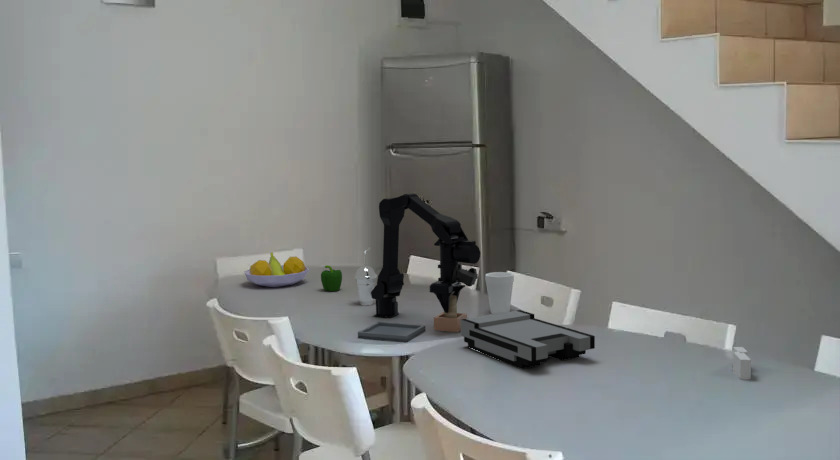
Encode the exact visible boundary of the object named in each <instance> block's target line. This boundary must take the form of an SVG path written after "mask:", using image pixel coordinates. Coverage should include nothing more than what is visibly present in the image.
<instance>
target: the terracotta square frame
mask: <svg viewBox="0 0 840 460" xmlns="http://www.w3.org/2000/svg"><path fill="white" fill-rule="evenodd" d="M467 318H468V313H466V312H465V313H464V312H462V313H461V312H457V318H446V317H444V311H442V312H440V313H439V314H437V315H436V316H435V315H434V316H433V330H434V331H440V332H443V331H444V332H453V333H459V332H461V319H467Z"/></svg>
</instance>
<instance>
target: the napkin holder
mask: <svg viewBox="0 0 840 460" xmlns="http://www.w3.org/2000/svg"><path fill="white" fill-rule="evenodd" d="M751 370H752V359H751V358H750V357H749V352H748V350H746V349H745V348H744V346H733V347H732V372H733V373H734V374H735V375H736V377H737V378H738V379H739V380H746V381H747V380H751V377H752V376H751V375H752V374H751V373H752V372H751Z"/></svg>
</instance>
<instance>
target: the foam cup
mask: <svg viewBox="0 0 840 460" xmlns="http://www.w3.org/2000/svg"><path fill="white" fill-rule="evenodd" d="M484 276H485V277H484V278H485V279H484V281H485V283H486V289H487V291H486V292H487V298H488V305H489V306H488V307H489V312H490V315H492V314H498V313H504V312H510V311H511V303H512V296H513V285H514V282H515V280H514V279H515V278H514V277H515V273H513V272H508V271H507V272H506V271H504V272H503V271H498V272H497V271H495V272H494V271H493V272H488V273H485V275H484Z"/></svg>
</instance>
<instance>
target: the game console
mask: <svg viewBox="0 0 840 460" xmlns="http://www.w3.org/2000/svg"><path fill="white" fill-rule="evenodd" d="M460 336H462V337H463V342H464V343H467V348H468V347H470V348H473V349H475V350H478V351H480V352H482V353H484V354H487V355H489V356H491V357H490V358H492V357H494V358H496V359H495V360H497V359H499V360H498V361H500V360H501V361H500V362H502V361H503V362H502V363H506V364H508V365H510V366H513V367H516V368H518V369H521V370H524V369H529V368H534V367H537V366H541V364H542V363H546V362H547V359H548V358H549V357H550V358H553V359H556V360H559V361H568V360H571V359H576V358H580V356H581V355H585V354H586V351H588V350H593V349H595V348H596V347H595V346H596V345H595V344H596V343H595V342H596V340H595V339H596V338H595V337H596V336H595V335H593V334H590V333H586V332H583V331H578V330H576V329H572V328H569V327H565V326H563V325H562V326H561V325H559V324H556V323H550V322H549V321H546V320H545V321H544V320H541V319H538V318H535V313H532V312H528V311H526V310H521V309H518V310H510V311H509V312H504V313H498V314H486V315H481V316H480V315H479V316H476V317H475V316H474V317H467V319H461V331H460ZM484 354H483V355H484ZM487 355H486V356H487ZM489 356H488V357H489ZM494 358H493V359H494Z"/></svg>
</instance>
